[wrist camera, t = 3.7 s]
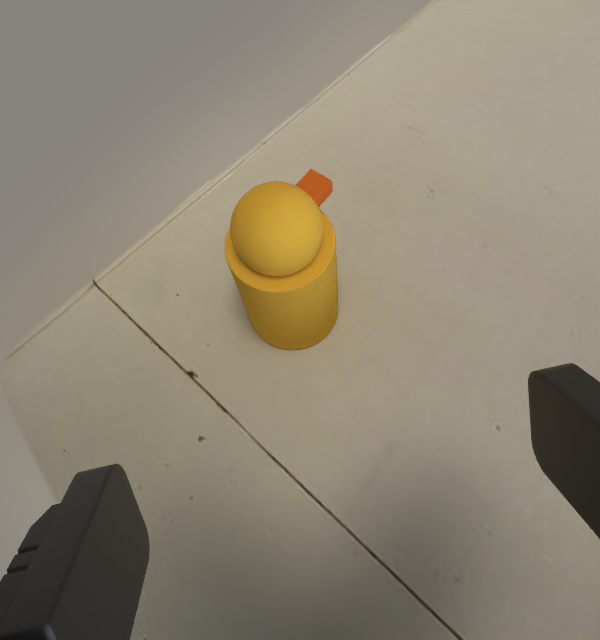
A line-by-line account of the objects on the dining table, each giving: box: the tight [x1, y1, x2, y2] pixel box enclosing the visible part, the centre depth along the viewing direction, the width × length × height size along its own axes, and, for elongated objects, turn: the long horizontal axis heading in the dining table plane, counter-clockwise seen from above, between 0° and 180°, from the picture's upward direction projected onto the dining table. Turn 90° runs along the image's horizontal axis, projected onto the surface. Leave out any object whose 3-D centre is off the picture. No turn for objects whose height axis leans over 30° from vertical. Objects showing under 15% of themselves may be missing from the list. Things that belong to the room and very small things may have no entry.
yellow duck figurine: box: [225, 169, 338, 350], centre depth 26 cm, size 6×5×10 cm
